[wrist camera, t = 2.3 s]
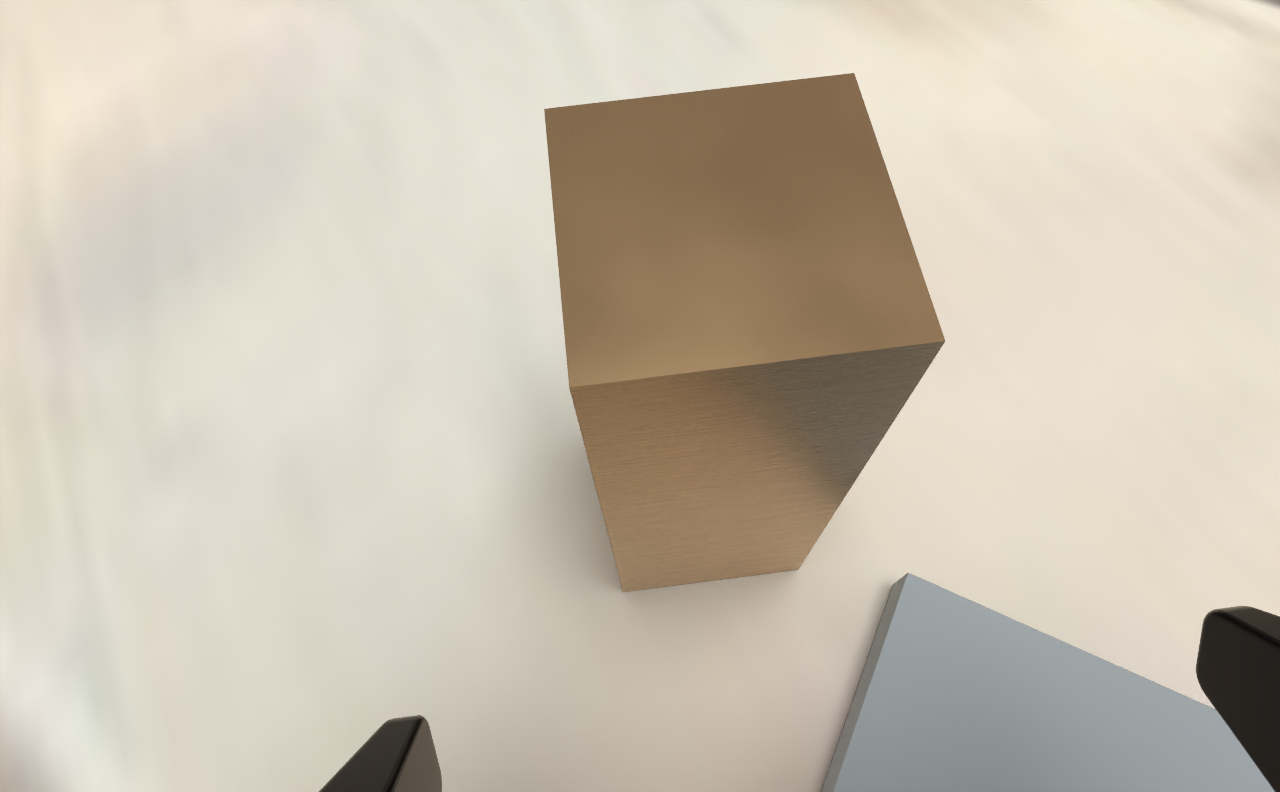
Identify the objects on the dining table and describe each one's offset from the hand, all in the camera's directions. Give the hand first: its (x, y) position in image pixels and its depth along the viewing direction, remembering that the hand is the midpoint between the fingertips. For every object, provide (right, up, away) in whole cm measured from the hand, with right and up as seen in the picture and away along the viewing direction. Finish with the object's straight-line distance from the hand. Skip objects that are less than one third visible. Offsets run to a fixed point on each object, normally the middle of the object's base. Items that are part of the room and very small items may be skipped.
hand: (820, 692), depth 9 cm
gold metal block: (0, 0, +14) cm, 14 cm away
